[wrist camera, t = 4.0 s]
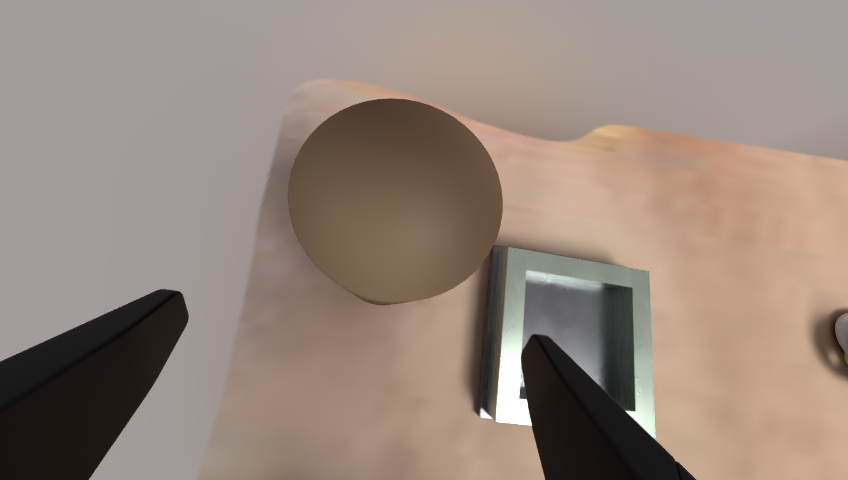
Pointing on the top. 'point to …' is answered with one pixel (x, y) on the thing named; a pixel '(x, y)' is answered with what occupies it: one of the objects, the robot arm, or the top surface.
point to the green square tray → (566, 329)
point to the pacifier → (842, 333)
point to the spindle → (395, 200)
